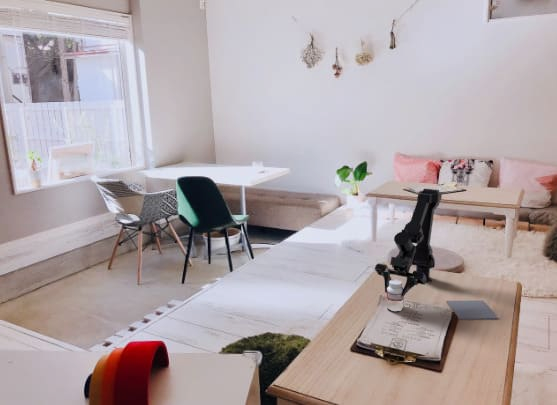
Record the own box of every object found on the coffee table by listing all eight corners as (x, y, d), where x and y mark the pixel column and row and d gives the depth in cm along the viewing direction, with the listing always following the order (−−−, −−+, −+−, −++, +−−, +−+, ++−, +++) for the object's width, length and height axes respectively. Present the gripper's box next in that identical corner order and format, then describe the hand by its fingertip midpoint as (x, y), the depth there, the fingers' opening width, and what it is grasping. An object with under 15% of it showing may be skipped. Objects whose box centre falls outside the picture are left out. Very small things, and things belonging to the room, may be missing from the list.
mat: (446, 302, 184) (446, 300, 184) (482, 301, 184) (483, 300, 183) (458, 319, 170) (459, 318, 170) (498, 319, 170) (498, 317, 170)
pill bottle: (393, 303, 184) (394, 277, 181) (406, 309, 179) (407, 282, 177) (383, 308, 180) (383, 281, 177) (396, 314, 175) (397, 286, 173)
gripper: (377, 243, 182) (364, 280, 176) (425, 251, 172) (414, 291, 166) (384, 256, 190) (372, 292, 184) (431, 265, 180) (420, 303, 174)
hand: (393, 294), depth 177 cm, fingers closed on pill bottle, 6 cm apart
